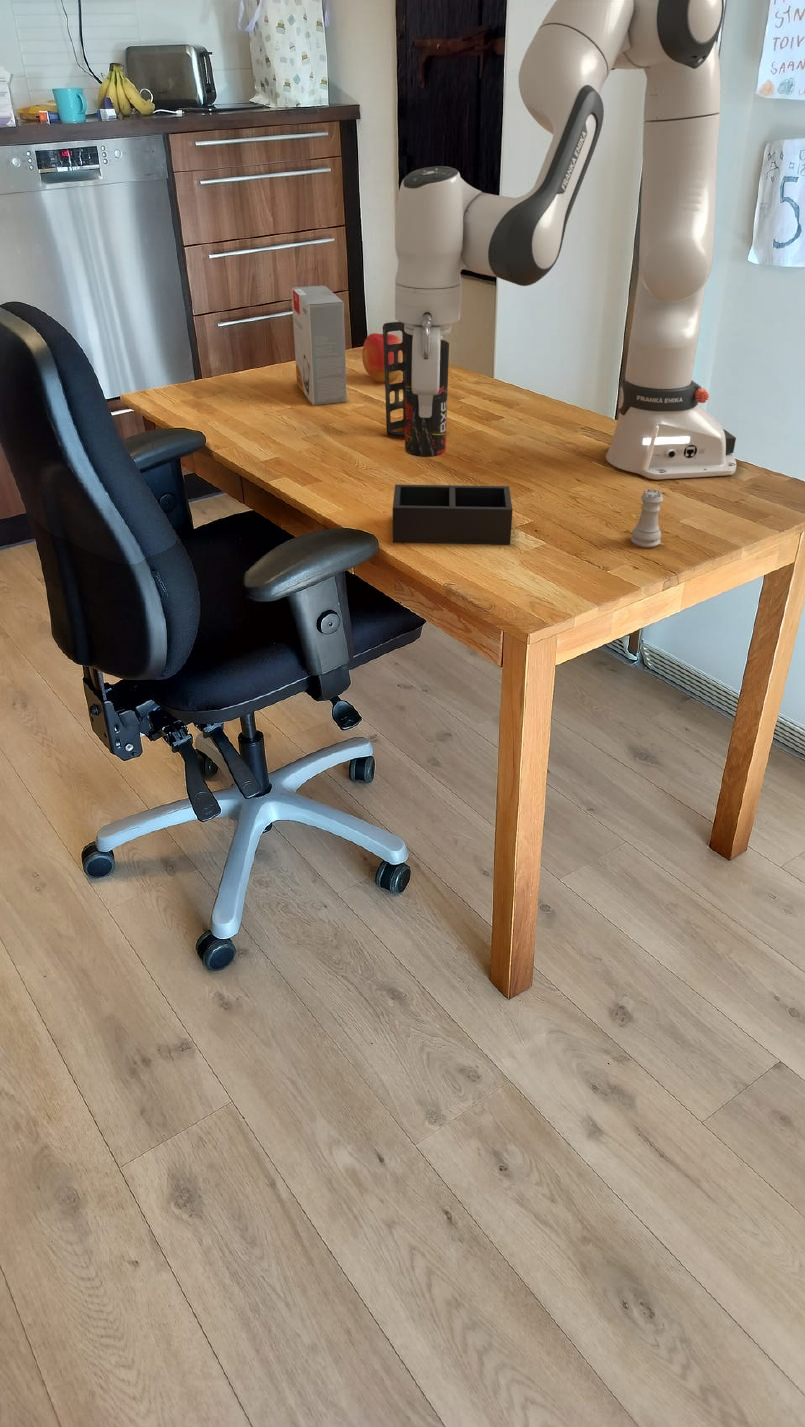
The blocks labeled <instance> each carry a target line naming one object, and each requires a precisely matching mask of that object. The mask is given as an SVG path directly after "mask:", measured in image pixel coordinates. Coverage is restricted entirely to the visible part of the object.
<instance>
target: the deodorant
mask: <svg viewBox="0 0 805 1427" xmlns="http://www.w3.org/2000/svg"><path fill="white" fill-rule="evenodd" d="M449 358H450V342H448V341H447V340H445V339H442V340H441V342H440V379H439V392H438V393H437V394H435V395H433V401H432V415H431V417H429V418H421V417H420V416H419V401H418V394H414V393H413V392H412V340H409V341H407V342H406V392H405V428H404V432H405V437H404V451H405V453H406V454H408V455H410V456H413V457H418V458H434V457H439V456H442V455H443V454H446V449H447V422H448V421H447V420H448V388H449V387H448V386H449V385H448V384H449V362H450V361H449V360H450V359H449ZM424 359H425V358H424ZM427 359H428V357H427Z"/></svg>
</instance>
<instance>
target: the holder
mask: <svg viewBox="0 0 805 1427" xmlns="http://www.w3.org/2000/svg"><path fill="white" fill-rule="evenodd" d="M390 332H392V333H393V332H401V333H402V334H401V336H402V338H401V341H402V343H398V344H391V345H389V344H388V339H387V334H389V333H390ZM382 334H383V345H384V371H385V382H384V392H385V396H384V397H385V421H386V425H385V426H386V436H387V437H390V438H405V431H395V430H398V429H405V392H406V342H407V341H409V340H413V335H409V334H407V333H406V332H405V331H404V323H402V322H399V321H391V322H385V323H383V325H382ZM400 350H401V351H402V354H403V362H402V363H400V362H398V352H399V351H400ZM389 352H393V353H394V363H393V364H391V365H390V364H388V354H389ZM398 370H400V371H402V381H401V382H395V383H390V382H389V373H390V372H393V371H398ZM400 390H402V401H401V400H400ZM392 392H394V401H393V402H392V403H391V393H392ZM400 409H401V410H402V419H401V420H395V421H391V420H392V419H391V413H392V412H393V411H396V410H400Z"/></svg>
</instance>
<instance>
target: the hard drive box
mask: <svg viewBox="0 0 805 1427" xmlns="http://www.w3.org/2000/svg"><path fill="white" fill-rule="evenodd" d="M290 289H291V292H290V293H291V305H292V308H291V309H292V322H293V323H292V325H293V340H294V341H293V342H294V358H295V359H294V360H295V374H296V385H297V386H298V387H299V389H300V390H301V391H302V393H303V394H304V395H305V397H306V398H307V400H308V401H309V402H310V404H311V405H312V406H319V405H330V404H338V403H339V404H340V403H347V401H348V400H347V399H348V398H347V396H348V394H347V366H346V364H347V363H346V362H347V360H346V332H345V330H346V329H345V328H346V327H345V302H344V301H343V300H342V299H340V297H339V296H337V295H336V293H334V292H333V291H332V290H330V288H329V287H327V286H326V285H310V286H295V287H294V286H293V287H290Z"/></svg>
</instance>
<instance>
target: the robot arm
mask: <svg viewBox="0 0 805 1427" xmlns="http://www.w3.org/2000/svg"><path fill="white" fill-rule="evenodd" d="M724 11H725V0H555V2H554V3H553V4H552V5H551V7H550V9H549V10H548V12H547V14H546V15H545V17H544V18H543V20H542V22H541V24H540V25H539V27H538V28H537V30H536V33H535V34H534V36H533V38H532V40H531V42H530V43H529V45H528V47H527V49H526V51H525V53H524V55H523V58H522V61H521V64H520V67H519V71H518V88H519V89H518V90H519V93H520V98H521V100H522V102H523V105H524V106H525V109H526V110H527V111H528V113H529V114H530V116H531V117H532V118H533V119H534V121H535V122H536V123H537V124H538V125H539V126H541V128H543V129H544V130H546V131H547V132H549V133H550V134H551V135H552V139H551V141H550V144H549V147H548V149H547V152H546V154H545V157H544V160H543V162H542V165H541V167H540V170H539V173H538V175H537V177H536V180H535V183H534V185H533V187H532V188H531V189H530V190H529V191H528V192H527V193H525V194H523V195H521V196H517V197H511V196H504V195H497V194H492V193H487V192H483V191H482V190H480V189H477V188H475V187H473V186H472V185H470V184H469V183H468V182H466V181H465V180H464V179H463V178H462V177H461V174H460V172H459V170H457V168H454V167H451V166H443V165H438V166H437V165H435V166H429V167H427V166H426V167H422V168H419V169H416V170H413V171H410V173H408V174H407V175H406V176H405V177H403V179H402V181H401V183H400V186H399V190H398V195H397V201H396V210H395V228H394V229H395V230H394V231H395V232H394V233H395V234H394V236H395V237H394V239H395V240H394V241H395V242H394V244H395V252H396V256H397V263H398V264H397V270H396V274H395V277H394V278H395V279H394V318H395V320H396V321H397V322H402V323H404V331H405V332H406V333H407V334H409V335H413V340H412V392H413V393H414V394H418V401H419V416H420V417H421V418H429V417H431V415H432V401H433V395H435V394H437V393H438V392H439V379H440V342H441V340H443V337H444V336H446V335H448V334H449V333H451V330H452V329H451V328H452V327H451V325H452V324H455V323H457V322H459V321H460V320H461V305H462V303H461V302H462V274H461V272H462V270H465V271H470V272H473V273H476V274H480V275H486V276H489V277H495V278H498V279H501V280H503V281H505V282H509V283H512V284H513V285H517V286H520V287H528V286H532V285H534V284H536V283H538V282H539V281H540V280H541V279H543V278H544V277H545V276H547V274H548V273H549V272H550V271H551V270H552V269H553V267H554V266H555V264H556V263H557V261H558V259H559V256H560V253H561V250H562V247H563V242H564V237H565V232H566V228H567V224H568V222H569V217H570V215H571V212H572V210H573V208H574V204H575V202H576V199H577V197H578V195H579V191H580V190H581V187H582V184H583V181H584V179H585V176H586V174H587V171H588V169H589V166H590V163H591V160H592V157H593V155H594V152H595V149H596V147H597V144H598V141H599V138H600V135H601V132H602V127H603V123H604V122H603V121H604V118H605V115H604V113H605V110H604V108H605V107H604V103H603V100H602V98H601V92H602V89H603V87H604V84H605V82H606V80H607V79H608V77H609V75H610V73H611V71H614V70H643V71H644V74H645V77H646V84H645V92H644V93H645V94H644V103H643V105H644V106H643V123H642V124H643V126H642V128H643V130H642V134H643V135H642V164H641V165H642V167H641V168H642V169H641V176H642V177H641V197H640V203H641V204H640V225H639V228H640V229H639V255H638V276H637V284H636V285H637V286H636V290H635V291H636V293H635V299H634V306H633V315H632V321H631V328H630V336H629V343H628V344H629V345H628V352H627V360H626V367H625V375H624V376H623V378H622V380H621V386H620V389H619V397H618V406H617V407H618V412H619V413H618V419H617V421H616V425H615V429H614V433H613V436H612V440H611V442H610V445H609V448H608V450H607V452H606V454H605V460H606V461H607V462H608V463H609V464H610V465H612V466H613V467H615V468H617V469H619V470H622V471H625V472H630V473H633V474H638V475H641V476H643V477H645V478H647V479H650V480H656V481H657V480H673V479H675V480H676V479H688V478H705V477H708V478H709V477H724V476H732V475H734V474H735V473H736V471H737V461H736V458H735V457H734V455H733V454H734V452H735V446H736V441H737V437H736V436H734V435H733V434H731V433H730V432H729V431H727V430H726V429H724V428H723V426H722V425H721V424H720V423H719V421H717V420H716V419H715V418H714V417H713V416H712V415H711V414H710V413H709V412H708V411H707V410H706V409H705V408H704V407H702V406H701V405H700V404H705V403H707V401H709V399H710V393H708V391H707V390H706V389H705V388H704V387H703V388H702V386H701V385H700V384H698V383H697V382H695V381H694V380H692V379H693V373H694V367H695V361H696V354H697V349H698V342H699V336H700V330H701V321H702V314H703V313H702V312H703V305H704V299H705V293H706V292H705V290H706V285H707V281H708V279H709V278H710V275H711V272H712V268H713V263H714V262H713V261H714V244H715V242H714V241H715V222H716V199H717V198H716V195H717V193H716V192H717V175H718V174H717V172H718V155H719V137H720V120H721V113H720V112H721V102H722V101H721V100H722V99H721V98H722V96H721V94H722V91H721V90H722V89H721V88H722V85H721V83H722V82H721V66H720V57H719V49H718V42H717V39H718V36H719V34H720V32H721V31H720V30H721V28H722V23H723V19H724V14H725V12H724ZM427 357H428V359H427ZM424 358H425V359H424ZM699 403H700V404H699Z"/></svg>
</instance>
